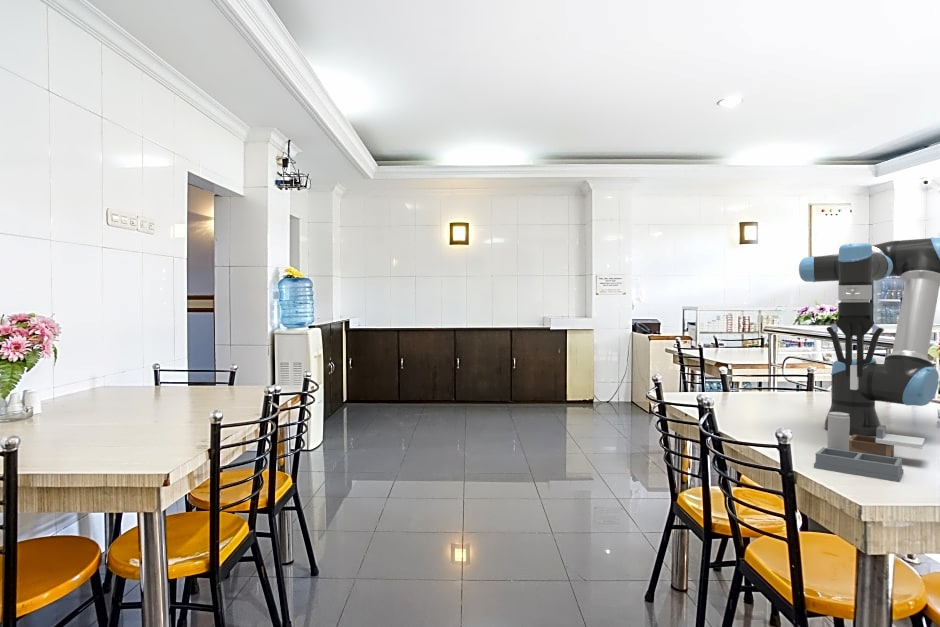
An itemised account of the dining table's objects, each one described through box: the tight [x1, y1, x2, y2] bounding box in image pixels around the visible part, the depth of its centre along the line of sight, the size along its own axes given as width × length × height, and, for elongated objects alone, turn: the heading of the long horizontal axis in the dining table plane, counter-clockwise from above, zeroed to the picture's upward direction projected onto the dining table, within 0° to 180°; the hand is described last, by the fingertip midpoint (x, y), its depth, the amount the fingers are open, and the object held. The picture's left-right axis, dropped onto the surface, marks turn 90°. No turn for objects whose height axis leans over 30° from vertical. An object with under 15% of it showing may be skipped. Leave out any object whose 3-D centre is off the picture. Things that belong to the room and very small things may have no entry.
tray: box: [849, 435, 895, 458], centre depth 153 cm, size 9×9×4 cm
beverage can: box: [827, 411, 850, 451], centre depth 150 cm, size 5×5×12 cm
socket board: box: [813, 447, 905, 483], centre depth 140 cm, size 9×17×4 cm, turn 48°
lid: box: [875, 424, 926, 450], centre depth 149 cm, size 9×9×3 cm
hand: (854, 389), depth 155 cm, fingers closed
